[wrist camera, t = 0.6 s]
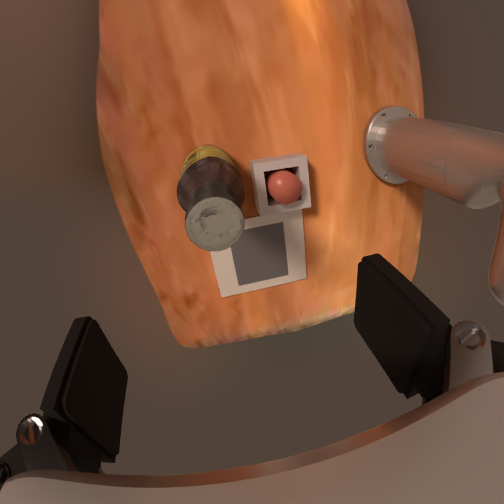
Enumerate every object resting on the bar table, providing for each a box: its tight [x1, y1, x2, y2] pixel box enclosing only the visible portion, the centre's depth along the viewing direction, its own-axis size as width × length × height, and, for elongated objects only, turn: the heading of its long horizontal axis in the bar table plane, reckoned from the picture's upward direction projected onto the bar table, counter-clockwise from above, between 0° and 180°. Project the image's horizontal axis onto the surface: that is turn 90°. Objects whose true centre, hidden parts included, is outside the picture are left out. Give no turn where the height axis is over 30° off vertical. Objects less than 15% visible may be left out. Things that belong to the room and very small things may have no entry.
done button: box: [266, 169, 302, 204], centre depth 36 cm, size 4×4×3 cm
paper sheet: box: [210, 209, 307, 297], centre depth 43 cm, size 14×12×1 cm
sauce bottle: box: [177, 145, 245, 251], centre depth 27 cm, size 7×6×20 cm
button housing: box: [249, 153, 311, 216], centre depth 37 cm, size 7×7×3 cm
